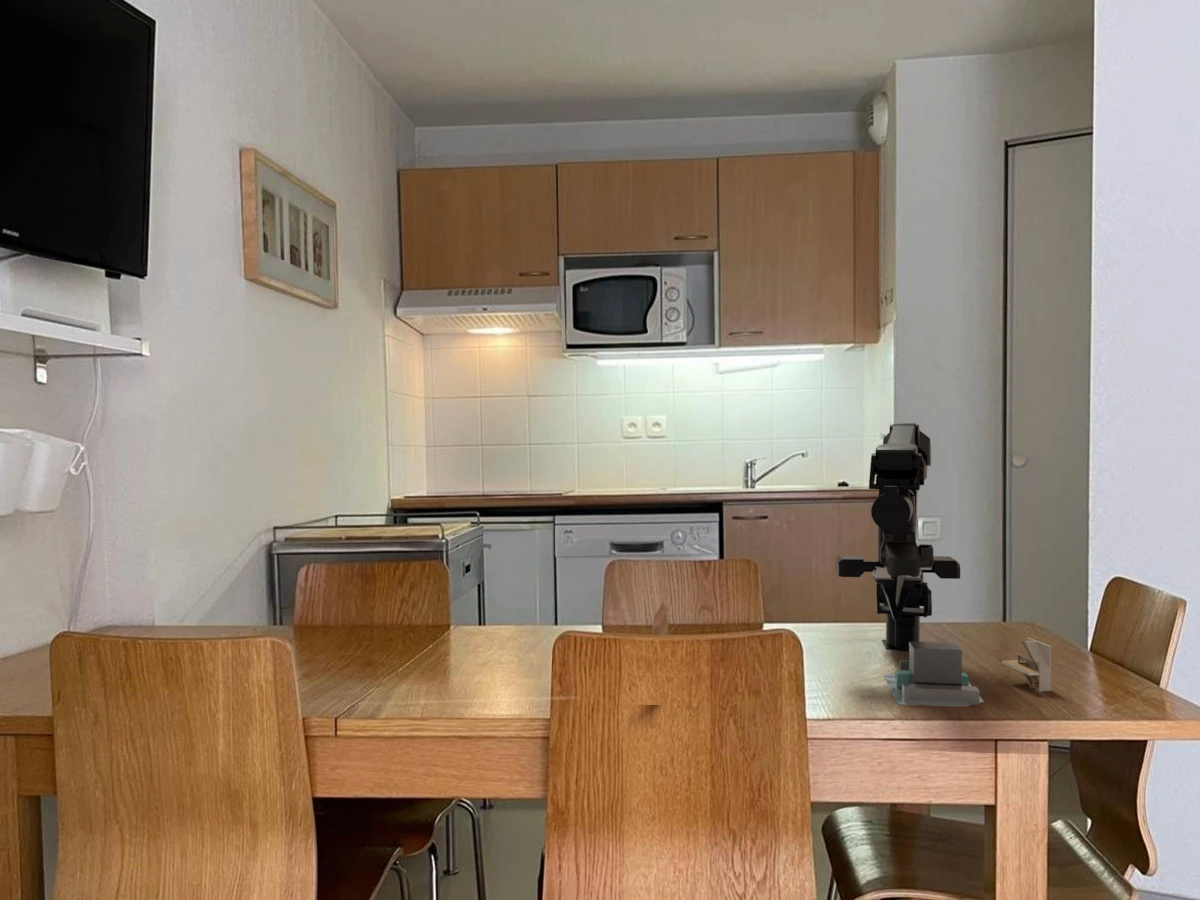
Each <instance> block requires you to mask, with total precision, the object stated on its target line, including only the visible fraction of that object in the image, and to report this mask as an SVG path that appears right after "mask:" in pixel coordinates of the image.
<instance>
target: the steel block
mask: <svg viewBox="0 0 1200 900" xmlns="http://www.w3.org/2000/svg"><path fill="white" fill-rule="evenodd" d="M962 650H963V649H962V648H961V647H960V646H959V645H958V644H957V643H956V642H940V641H939V642H935V641H934V642H933V641H920V642H909V650H908V651H909V653H908V660H909V684H923V685H948V686H962V673H963V671H962V670H963V669H962V668H963V665H962V663H963V662H962V661H963V659H962V657H963V656H962V654H963V653H962V652H963V651H962Z"/></svg>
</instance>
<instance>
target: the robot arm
mask: <svg viewBox="0 0 1200 900" xmlns="http://www.w3.org/2000/svg"><path fill="white" fill-rule="evenodd" d="M882 439H883V440H882V444H879V445H878V446H876V448H875V453H873V452H872V453H871V456H870V468H869V479H868V489H869V490H878V495H877V498H876V499H875V500H874V502H873V503H872V506H871V512H870V514H871V518H872V520H873V522H874V523H875V525H876V526H877V560H865V559H864V558H863V557H862V556H861V555H859V554H858V555H855V554H853V555H852V554H851V555H849V554H848V555H847V554H846V555H845V554H839V555H838V556H837V557H836V558H835V560H834V561H835V572H836V574H837V576H838V577H841V578H860V577H861V576H862V575H864V573H870V578H871V579H872V580H873V581H874V583H876V610H877V611H876V613H877V615H882V614H883V615H884V614H885V639H882V640H881V642H882V644H883V646H884V648H885V649H886V650H889V651H909V642H921V618H922V617H923V618H928V617H931V616H933V601H932V600H933V599H932V596H933V595H932V594H933V593H932V590H931V589H930V587H929V586H928V582H927V581H926V582H925V579H924V578H925V577H924V574H927V573H928V574H930V573H931V574H933V573H934V574H935V575H936V576H937V577H938V578H939V579H948V580H949V579H951V580H953V579H955V580H956V579H961V566H960V563H959V561H957V560H956V559H955V558H953V557H952V556H935V555H934V547H933V545H932V544H919V545H918V544H917V524H918V523H917V517H918V491H920V490H921V486H925V481H926V479H927V477H928V467H931V466H932V444H931V443H932V442H931V438H930V437H929V436H928V435H927V434H925V433H924V432H923V431H921V430H920V424H917V423H916V422H894V423H893V424H889V431H888V433H887V434H886V435H885V436H884V437H883V438H882Z"/></svg>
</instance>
